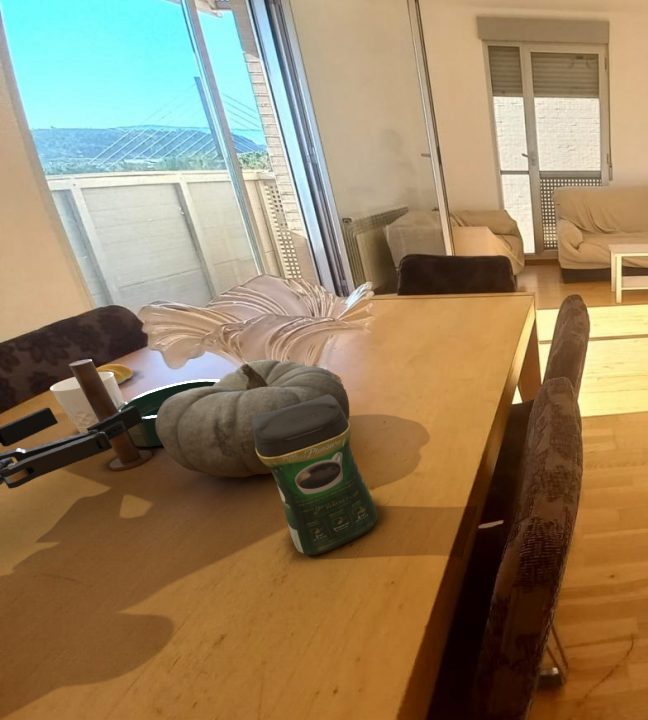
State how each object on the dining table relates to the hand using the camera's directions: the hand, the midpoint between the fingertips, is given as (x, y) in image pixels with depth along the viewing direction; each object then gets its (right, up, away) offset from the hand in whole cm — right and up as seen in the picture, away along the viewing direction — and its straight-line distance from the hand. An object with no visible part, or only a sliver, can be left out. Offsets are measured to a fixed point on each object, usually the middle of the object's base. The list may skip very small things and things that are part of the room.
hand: (94, 414), depth 73 cm
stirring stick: (0, -9, +5) cm, 10 cm away
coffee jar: (+44, -14, -11) cm, 48 cm away
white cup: (-15, -5, +16) cm, 22 cm away
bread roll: (-36, +3, +35) cm, 50 cm away
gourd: (+24, -7, +7) cm, 26 cm away
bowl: (0, -4, +16) cm, 16 cm away
